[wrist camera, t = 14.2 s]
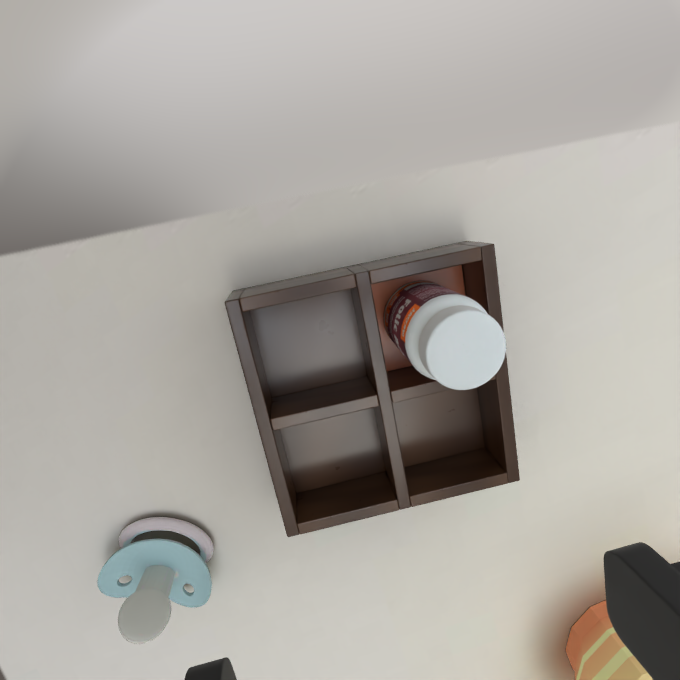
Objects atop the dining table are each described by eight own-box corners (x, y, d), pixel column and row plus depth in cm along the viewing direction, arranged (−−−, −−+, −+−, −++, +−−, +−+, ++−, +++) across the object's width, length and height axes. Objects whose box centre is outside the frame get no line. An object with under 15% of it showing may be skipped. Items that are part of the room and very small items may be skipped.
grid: (287, 500, 33) (287, 537, 29) (232, 290, 29) (223, 301, 25) (493, 450, 34) (520, 480, 30) (467, 240, 30) (494, 243, 26)
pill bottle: (378, 285, 29) (414, 309, 21) (451, 275, 30) (513, 295, 22) (385, 356, 31) (421, 405, 23) (455, 346, 31) (515, 390, 23)
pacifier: (121, 503, 32) (105, 578, 33) (84, 565, 26) (66, 655, 27) (227, 521, 33) (209, 593, 34) (215, 584, 27) (193, 669, 28)
